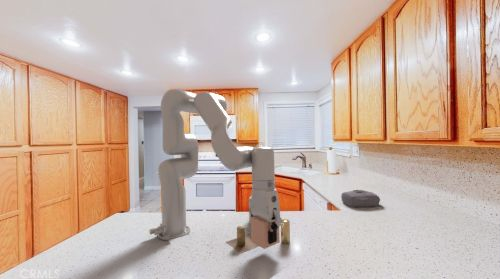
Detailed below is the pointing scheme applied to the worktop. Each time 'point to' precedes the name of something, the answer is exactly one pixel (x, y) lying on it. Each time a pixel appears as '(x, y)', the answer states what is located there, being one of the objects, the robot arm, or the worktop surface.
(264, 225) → the salmon pink cube
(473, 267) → the worktop surface
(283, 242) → the peg
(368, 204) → the small grey backpack
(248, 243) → the board
